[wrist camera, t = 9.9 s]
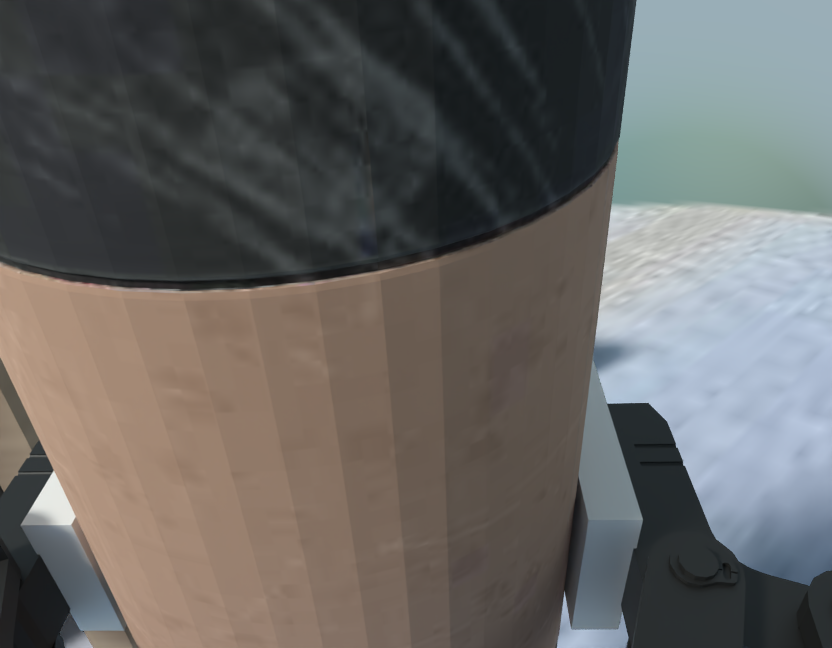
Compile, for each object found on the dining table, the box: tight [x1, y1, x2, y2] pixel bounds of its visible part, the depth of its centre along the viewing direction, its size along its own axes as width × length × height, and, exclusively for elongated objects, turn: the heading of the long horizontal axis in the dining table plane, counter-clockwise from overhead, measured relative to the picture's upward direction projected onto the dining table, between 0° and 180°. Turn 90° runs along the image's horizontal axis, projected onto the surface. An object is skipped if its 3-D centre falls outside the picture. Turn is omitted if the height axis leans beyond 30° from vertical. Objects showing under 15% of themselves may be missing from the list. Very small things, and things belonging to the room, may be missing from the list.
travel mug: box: [0, 0, 636, 648], centre depth 12 cm, size 8×8×20 cm
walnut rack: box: [0, 358, 138, 648], centre depth 34 cm, size 21×22×20 cm
